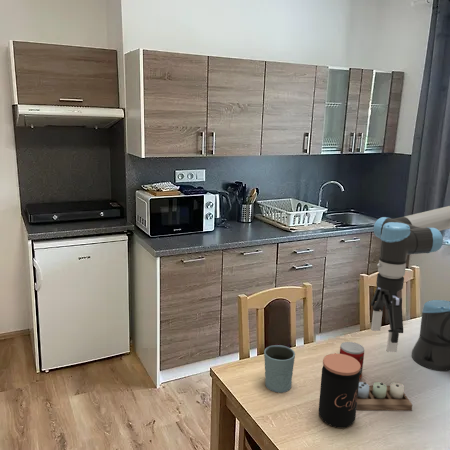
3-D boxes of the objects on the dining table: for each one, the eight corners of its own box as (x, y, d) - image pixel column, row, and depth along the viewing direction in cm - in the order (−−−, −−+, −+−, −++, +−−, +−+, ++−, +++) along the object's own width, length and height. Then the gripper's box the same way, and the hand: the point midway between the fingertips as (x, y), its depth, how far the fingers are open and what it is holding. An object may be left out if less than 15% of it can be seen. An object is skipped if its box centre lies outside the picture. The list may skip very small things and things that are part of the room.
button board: (398, 391, 145) (399, 385, 144) (411, 410, 135) (412, 404, 135) (347, 390, 144) (347, 385, 144) (356, 410, 135) (357, 404, 134)
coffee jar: (332, 433, 124) (338, 376, 120) (311, 410, 134) (315, 357, 130) (362, 424, 128) (369, 368, 124) (339, 402, 138) (344, 350, 134)
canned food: (362, 383, 149) (365, 353, 146) (338, 380, 150) (341, 350, 148) (360, 371, 156) (363, 343, 154) (337, 368, 158) (339, 340, 155)
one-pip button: (399, 391, 141) (401, 381, 141) (405, 398, 137) (406, 389, 137) (387, 391, 141) (388, 381, 140) (392, 398, 137) (393, 388, 137)
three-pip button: (365, 390, 141) (366, 381, 140) (370, 398, 137) (371, 388, 136) (353, 390, 141) (354, 381, 140) (357, 398, 137) (358, 388, 136)
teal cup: (281, 397, 140) (283, 363, 137) (256, 384, 146) (257, 352, 144) (298, 384, 147) (301, 352, 144) (274, 372, 154) (276, 341, 151)
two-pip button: (382, 391, 141) (384, 381, 140) (387, 398, 137) (388, 388, 137) (370, 390, 141) (371, 381, 140) (375, 398, 137) (376, 388, 136)
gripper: (364, 261, 143) (358, 322, 147) (394, 289, 118) (386, 361, 123) (387, 262, 143) (381, 322, 148) (422, 290, 119) (412, 361, 123)
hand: (383, 340), depth 135 cm, fingers open, 13 cm apart
